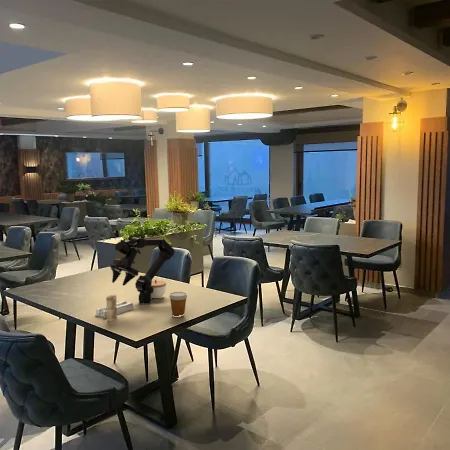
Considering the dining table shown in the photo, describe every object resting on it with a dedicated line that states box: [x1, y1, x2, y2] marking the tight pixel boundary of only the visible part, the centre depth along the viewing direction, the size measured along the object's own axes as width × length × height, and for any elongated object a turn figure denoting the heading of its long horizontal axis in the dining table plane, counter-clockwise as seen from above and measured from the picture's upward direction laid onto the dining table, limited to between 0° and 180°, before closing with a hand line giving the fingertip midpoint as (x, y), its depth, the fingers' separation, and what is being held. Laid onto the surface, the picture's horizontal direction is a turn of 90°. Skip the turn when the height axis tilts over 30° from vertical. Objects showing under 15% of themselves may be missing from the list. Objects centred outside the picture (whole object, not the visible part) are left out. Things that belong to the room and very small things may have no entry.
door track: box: [95, 300, 135, 319], centre depth 253 cm, size 20×8×4 cm, turn 144°
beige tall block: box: [105, 294, 118, 322], centre depth 240 cm, size 5×3×12 cm, turn 158°
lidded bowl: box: [151, 279, 167, 299], centre depth 281 cm, size 13×13×11 cm
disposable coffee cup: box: [168, 291, 188, 316], centre depth 247 cm, size 10×10×12 cm
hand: (118, 283), depth 255 cm, fingers open, 9 cm apart
